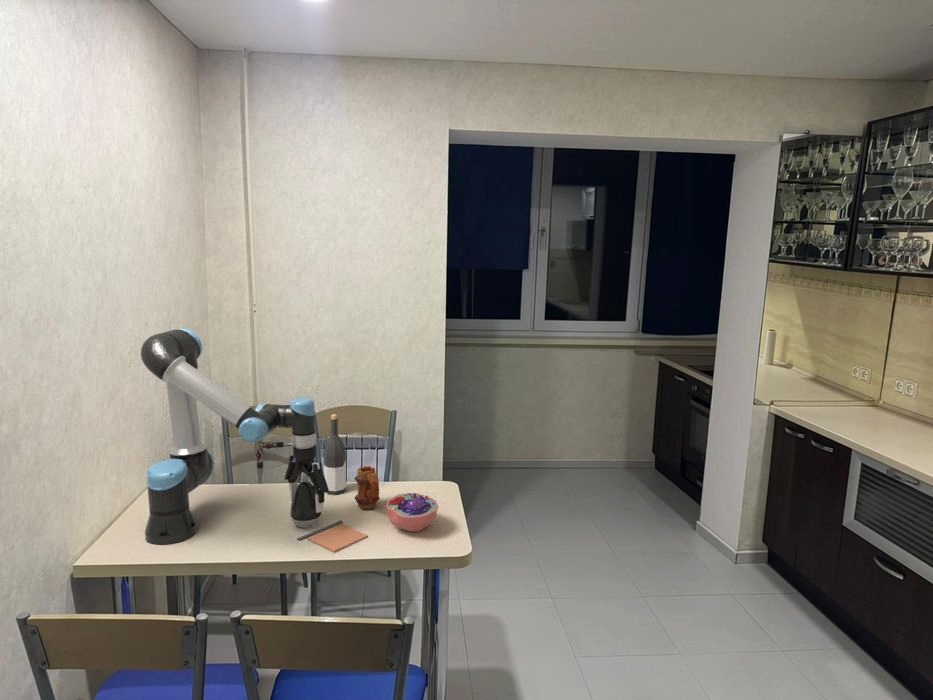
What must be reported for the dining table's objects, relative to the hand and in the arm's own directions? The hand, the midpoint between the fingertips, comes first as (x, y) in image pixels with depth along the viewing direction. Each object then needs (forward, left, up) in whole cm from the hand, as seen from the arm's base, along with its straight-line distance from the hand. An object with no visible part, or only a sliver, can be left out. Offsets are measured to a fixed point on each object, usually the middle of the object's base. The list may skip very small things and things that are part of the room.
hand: (307, 506), depth 219 cm
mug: (+7, +22, -7) cm, 24 cm away
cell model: (+28, +21, -7) cm, 36 cm away
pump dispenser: (0, 0, -7) cm, 7 cm away
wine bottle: (-15, +25, -7) cm, 30 cm away
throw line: (+7, 0, -7) cm, 10 cm away
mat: (+16, 0, -7) cm, 17 cm away
